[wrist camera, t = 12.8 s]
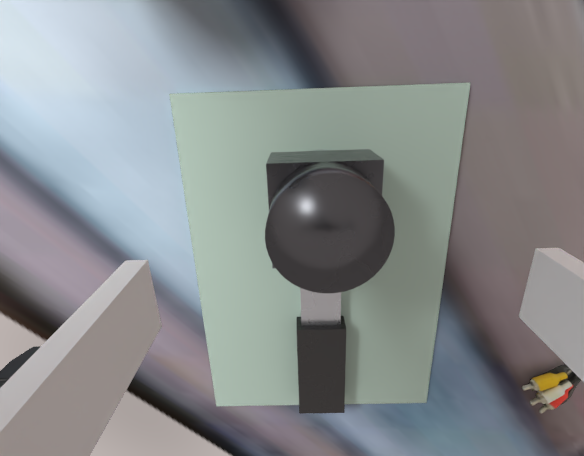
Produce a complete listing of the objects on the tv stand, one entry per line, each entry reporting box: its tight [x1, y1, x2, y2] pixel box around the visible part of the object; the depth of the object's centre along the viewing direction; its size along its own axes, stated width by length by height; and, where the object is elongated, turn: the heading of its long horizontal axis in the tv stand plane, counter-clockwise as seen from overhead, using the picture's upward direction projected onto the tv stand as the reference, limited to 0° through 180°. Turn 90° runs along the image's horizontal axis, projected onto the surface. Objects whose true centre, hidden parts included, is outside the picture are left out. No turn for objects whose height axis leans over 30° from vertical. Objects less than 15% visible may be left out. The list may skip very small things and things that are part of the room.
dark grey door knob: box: [265, 149, 395, 293], centre depth 20 cm, size 6×6×7 cm
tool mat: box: [169, 83, 470, 406], centre depth 28 cm, size 28×20×1 cm
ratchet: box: [297, 149, 346, 413], centre depth 26 cm, size 23×6×5 cm, turn 2°
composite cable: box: [522, 365, 581, 413], centre depth 31 cm, size 10×5×2 cm, turn 128°
